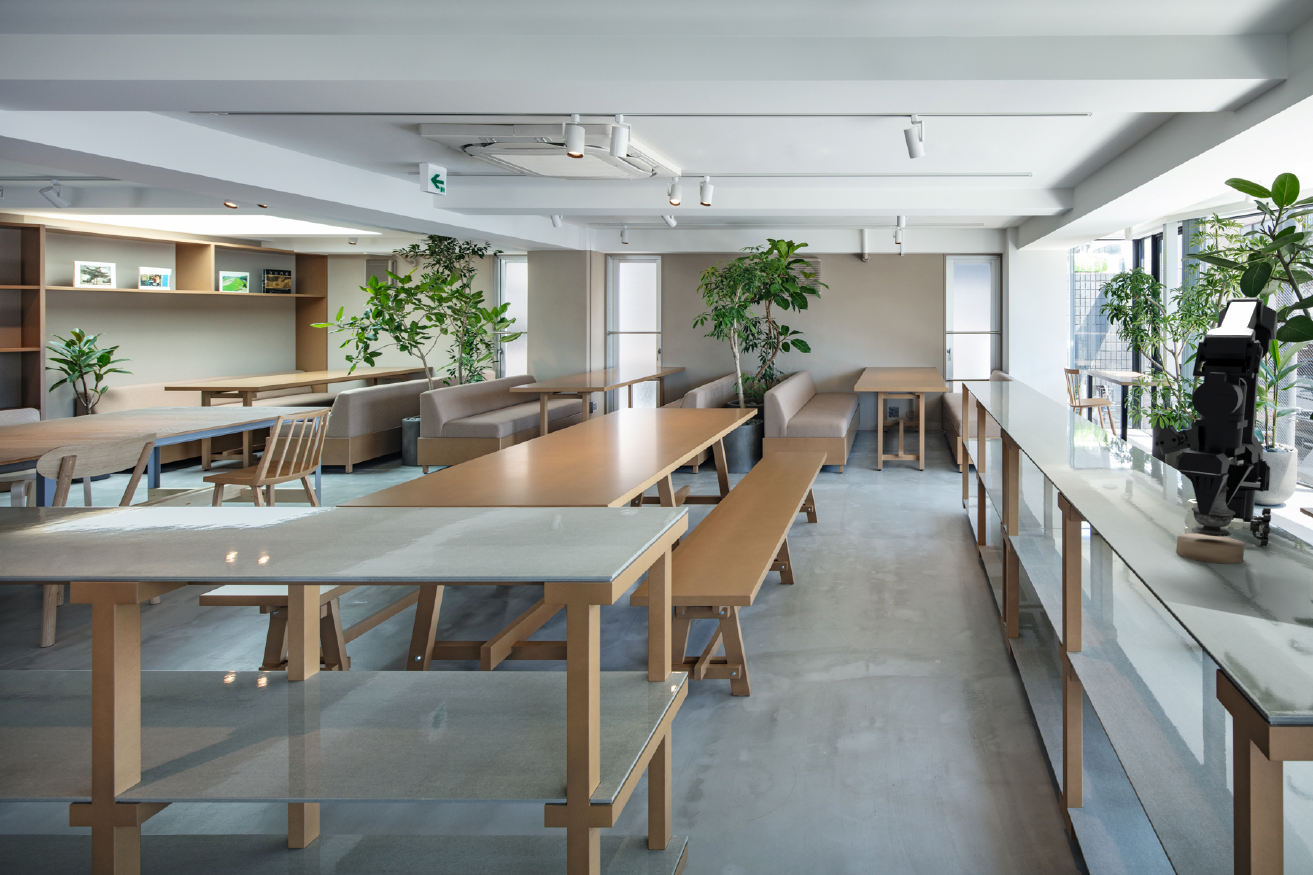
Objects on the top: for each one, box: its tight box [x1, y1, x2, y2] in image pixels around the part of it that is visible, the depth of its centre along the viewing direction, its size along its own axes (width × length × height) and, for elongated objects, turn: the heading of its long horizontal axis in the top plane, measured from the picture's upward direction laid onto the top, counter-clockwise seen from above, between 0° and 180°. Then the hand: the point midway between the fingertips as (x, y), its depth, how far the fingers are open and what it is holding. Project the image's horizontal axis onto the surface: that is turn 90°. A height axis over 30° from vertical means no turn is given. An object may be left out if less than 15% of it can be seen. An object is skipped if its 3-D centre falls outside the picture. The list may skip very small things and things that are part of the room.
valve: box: [1183, 498, 1272, 547], centre depth 144 cm, size 7×7×12 cm
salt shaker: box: [1192, 471, 1236, 537], centre depth 133 cm, size 6×6×12 cm
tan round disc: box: [1175, 533, 1245, 565], centre depth 134 cm, size 9×9×2 cm
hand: (1213, 510), depth 134 cm, fingers closed on salt shaker, 8 cm apart
